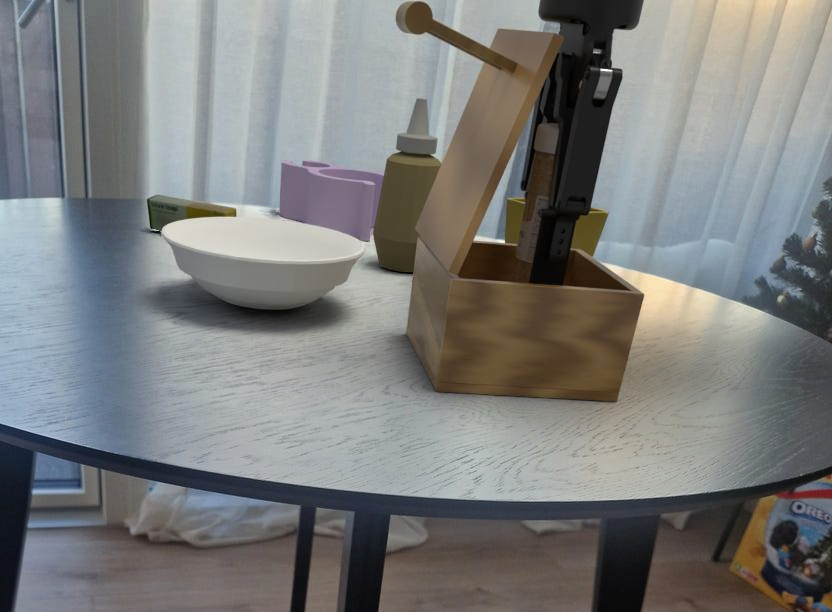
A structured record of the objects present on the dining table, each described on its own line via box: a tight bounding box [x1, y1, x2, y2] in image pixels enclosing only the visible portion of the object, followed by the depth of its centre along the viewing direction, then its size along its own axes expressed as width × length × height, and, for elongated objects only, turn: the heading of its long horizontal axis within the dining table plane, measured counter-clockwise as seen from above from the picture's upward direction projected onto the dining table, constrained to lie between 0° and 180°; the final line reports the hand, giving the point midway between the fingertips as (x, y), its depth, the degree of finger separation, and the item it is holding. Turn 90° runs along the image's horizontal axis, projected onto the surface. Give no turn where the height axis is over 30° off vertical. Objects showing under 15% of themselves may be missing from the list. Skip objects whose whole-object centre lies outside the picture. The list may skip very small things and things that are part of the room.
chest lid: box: [395, 0, 564, 275], centre depth 72 cm, size 16×17×10 cm
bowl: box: [160, 216, 367, 311], centre depth 91 cm, size 20×20×6 cm
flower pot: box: [504, 197, 610, 258], centre depth 110 cm, size 9×9×9 cm
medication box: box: [146, 194, 238, 231], centre depth 115 cm, size 12×3×4 cm, turn 63°
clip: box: [278, 159, 384, 242], centre depth 131 cm, size 20×12×7 cm, turn 43°
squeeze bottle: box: [372, 97, 442, 273], centre depth 108 cm, size 8×8×18 cm
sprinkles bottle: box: [511, 123, 559, 283], centre depth 77 cm, size 5×5×14 cm
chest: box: [405, 236, 645, 403], centre depth 81 cm, size 16×17×9 cm
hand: (534, 292), depth 80 cm, fingers closed on sprinkles bottle, 4 cm apart
